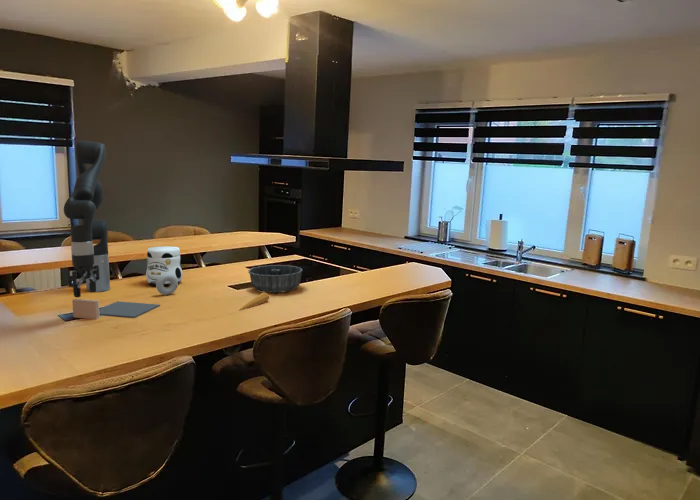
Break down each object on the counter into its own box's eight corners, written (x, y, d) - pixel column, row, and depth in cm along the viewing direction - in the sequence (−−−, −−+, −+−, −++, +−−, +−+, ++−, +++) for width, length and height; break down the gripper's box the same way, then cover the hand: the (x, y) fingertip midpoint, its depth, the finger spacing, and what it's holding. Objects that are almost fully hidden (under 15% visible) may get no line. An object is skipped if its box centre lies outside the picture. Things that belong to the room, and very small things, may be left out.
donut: (157, 297, 228) (157, 275, 226) (155, 295, 231) (154, 274, 229) (179, 294, 234) (178, 273, 233) (176, 292, 237) (175, 271, 235)
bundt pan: (237, 292, 241) (237, 271, 239) (266, 281, 265) (266, 262, 264) (285, 298, 231) (285, 277, 230) (311, 286, 255) (311, 267, 254)
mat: (88, 314, 200) (88, 312, 200) (117, 302, 217) (117, 301, 217) (134, 317, 196) (134, 316, 196) (159, 306, 214) (159, 304, 214)
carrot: (264, 301, 227) (261, 292, 227) (272, 299, 225) (268, 290, 225) (235, 317, 210) (231, 306, 210) (243, 314, 208) (239, 304, 208)
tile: (73, 317, 196) (72, 299, 195) (76, 316, 197) (75, 298, 196) (96, 319, 194) (95, 301, 193) (99, 318, 196) (98, 300, 195)
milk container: (148, 289, 243) (146, 252, 240) (144, 281, 258) (143, 246, 255) (185, 285, 251) (184, 250, 248) (179, 278, 266) (178, 245, 263)
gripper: (86, 249, 199) (89, 289, 202) (60, 255, 185) (63, 298, 188) (103, 250, 198) (106, 291, 200) (78, 256, 184) (81, 299, 186)
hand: (85, 294), depth 194 cm, fingers open, 8 cm apart
